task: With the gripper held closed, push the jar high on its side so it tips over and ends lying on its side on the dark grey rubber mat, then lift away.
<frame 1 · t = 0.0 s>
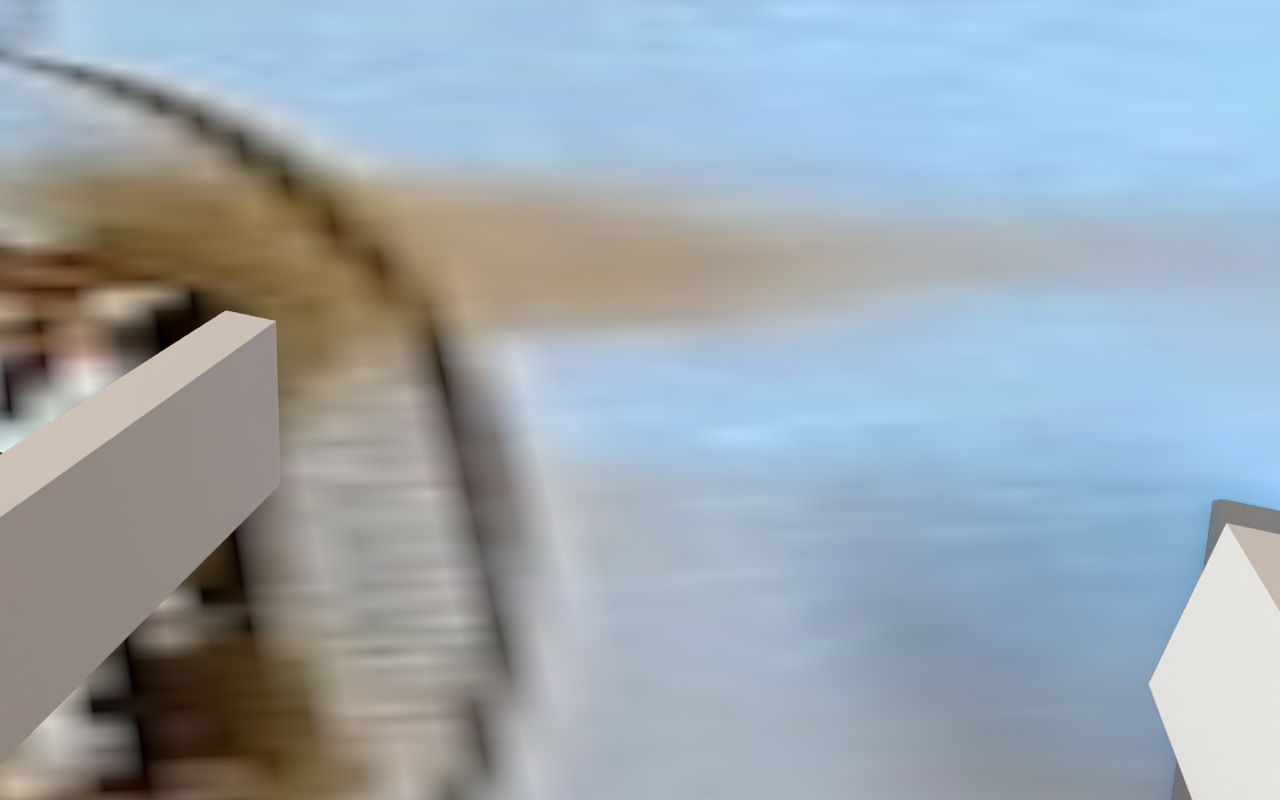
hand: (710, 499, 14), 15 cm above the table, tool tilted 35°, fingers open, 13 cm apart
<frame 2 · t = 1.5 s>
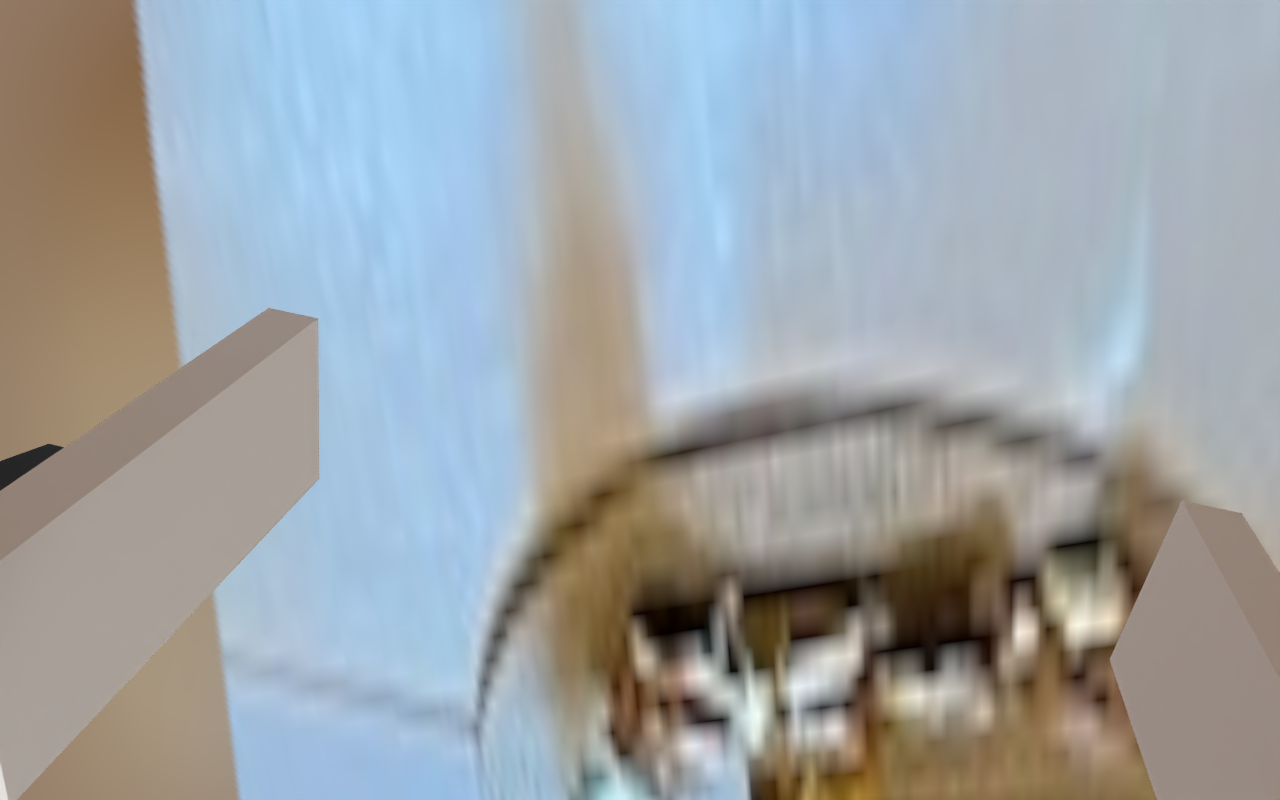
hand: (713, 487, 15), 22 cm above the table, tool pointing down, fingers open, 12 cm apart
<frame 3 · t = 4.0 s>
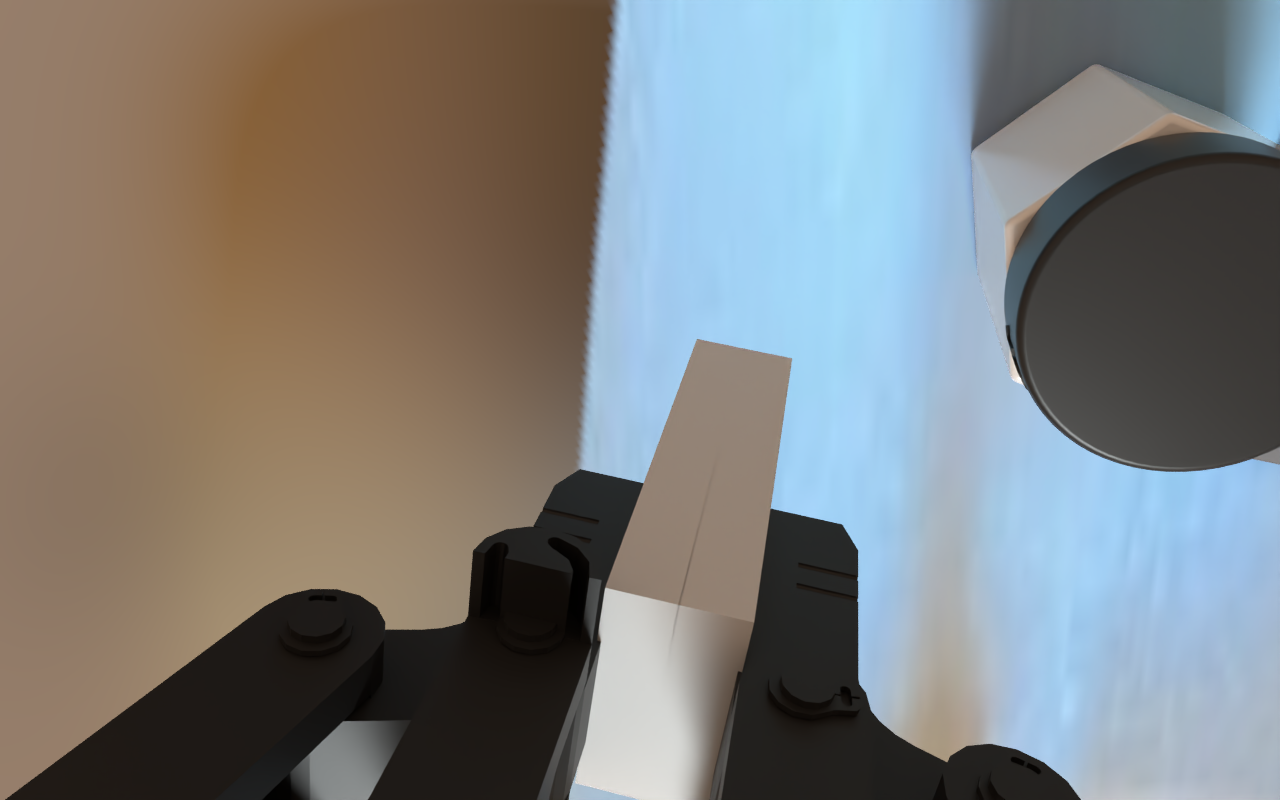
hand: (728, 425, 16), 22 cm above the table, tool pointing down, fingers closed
jar: (1092, 197, 35), on the table
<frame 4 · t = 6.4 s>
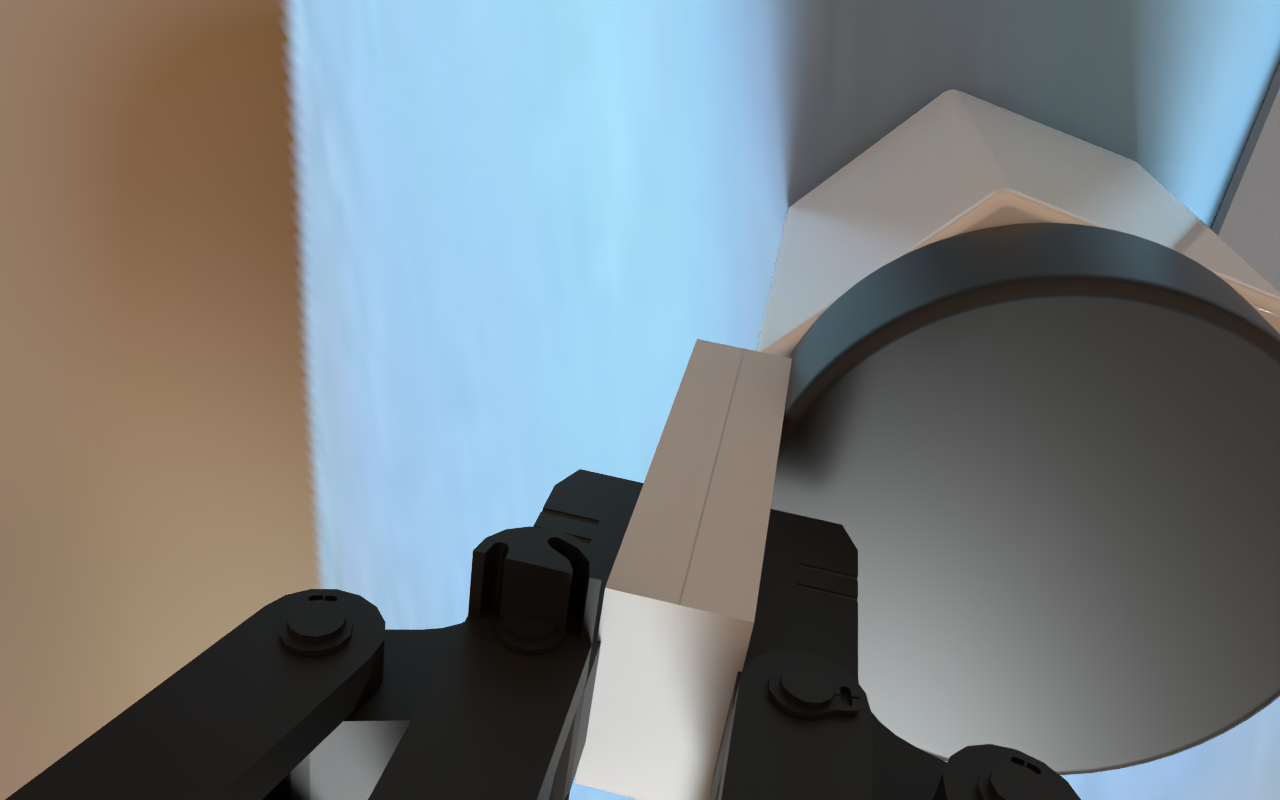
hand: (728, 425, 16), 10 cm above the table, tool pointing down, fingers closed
jar: (959, 274, 25), on the table, touching gripper
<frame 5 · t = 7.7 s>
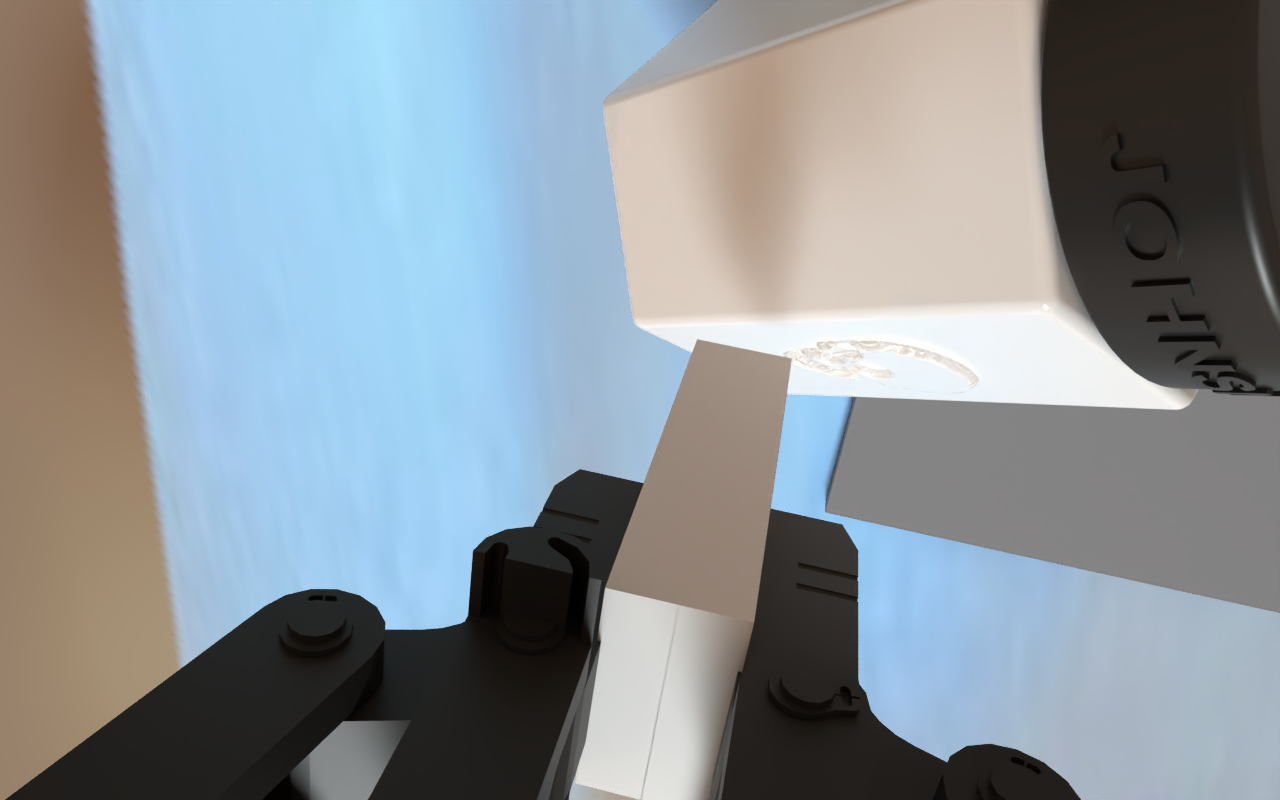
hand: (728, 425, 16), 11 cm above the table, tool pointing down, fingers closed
jar: (742, 200, 23), point 3 cm above the table
mat: (1219, 304, 25), on the table
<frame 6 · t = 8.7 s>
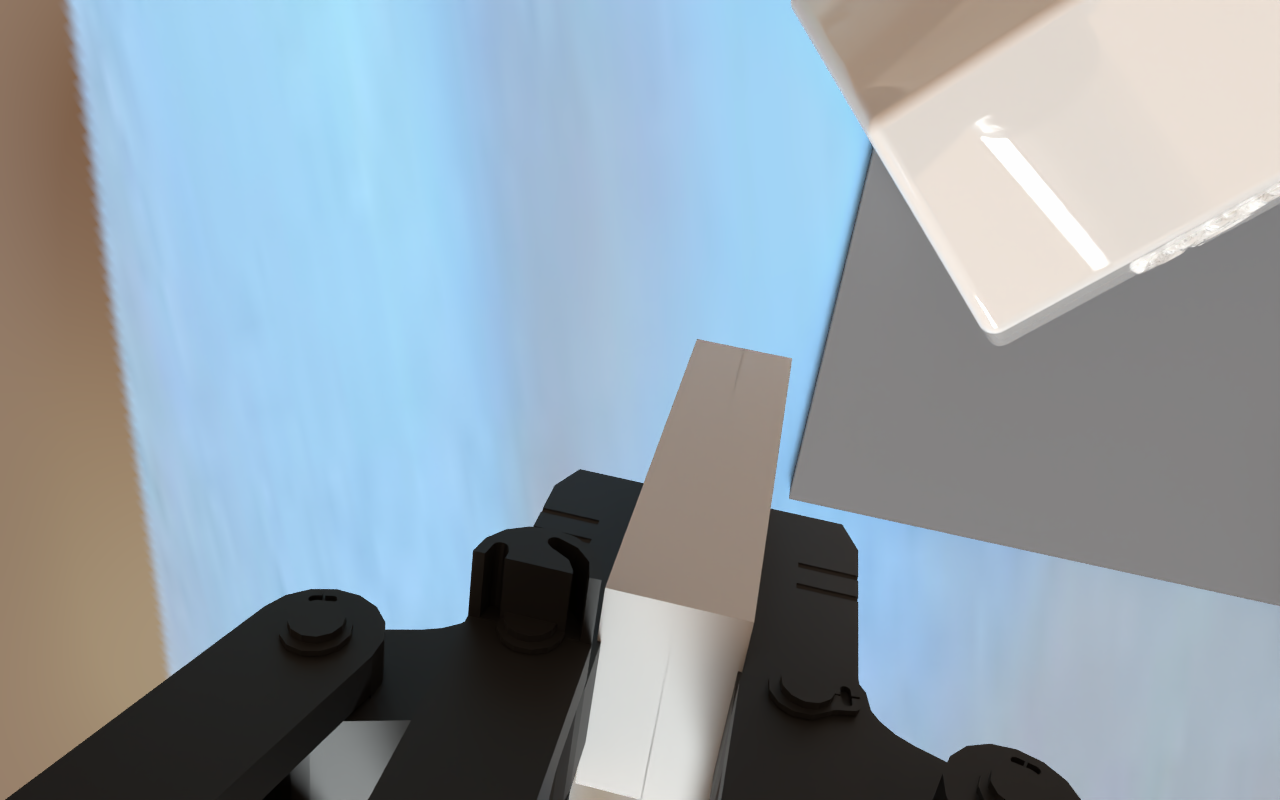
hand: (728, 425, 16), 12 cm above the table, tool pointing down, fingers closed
jar: (887, 189, 21), point 5 cm above the table, touching mat
mat: (1167, 292, 26), on the table
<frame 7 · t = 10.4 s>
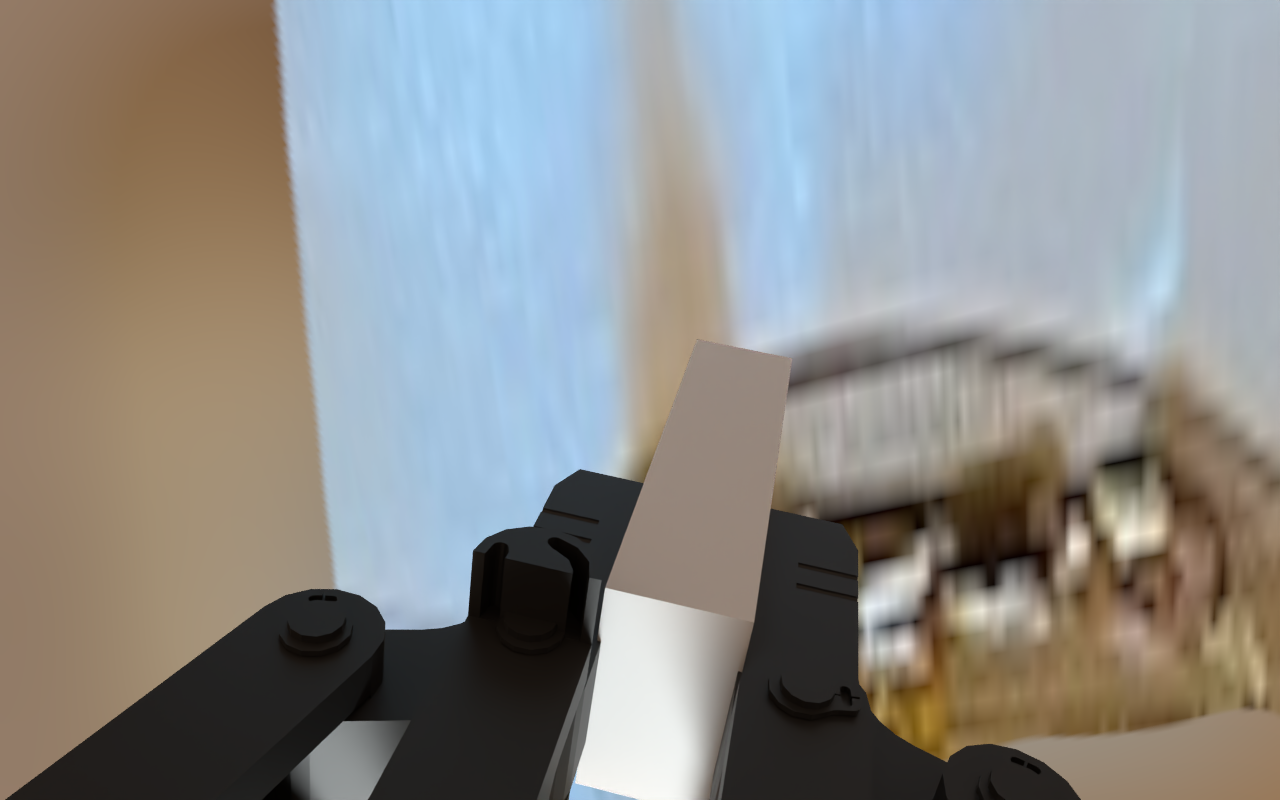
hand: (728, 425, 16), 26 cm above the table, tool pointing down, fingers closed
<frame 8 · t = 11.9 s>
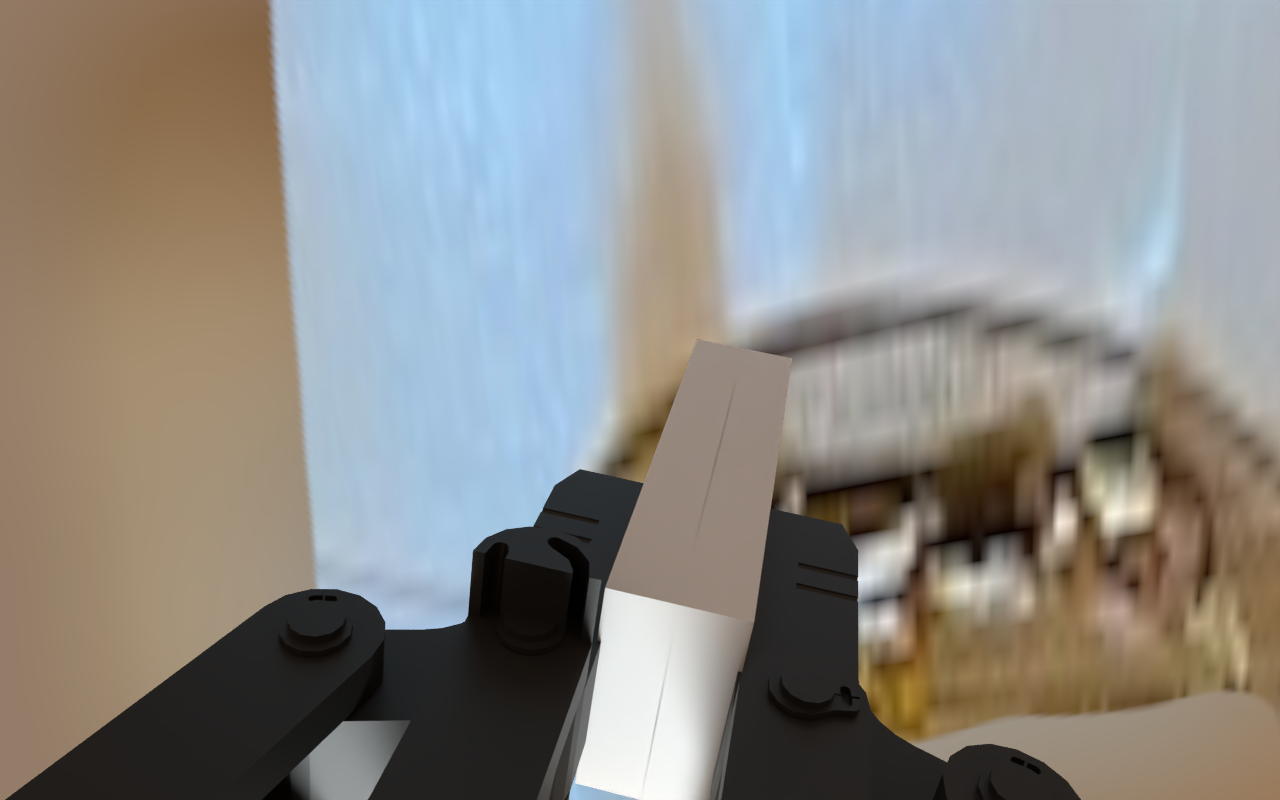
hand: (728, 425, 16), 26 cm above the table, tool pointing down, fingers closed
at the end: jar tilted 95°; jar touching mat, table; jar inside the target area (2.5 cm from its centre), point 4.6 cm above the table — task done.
